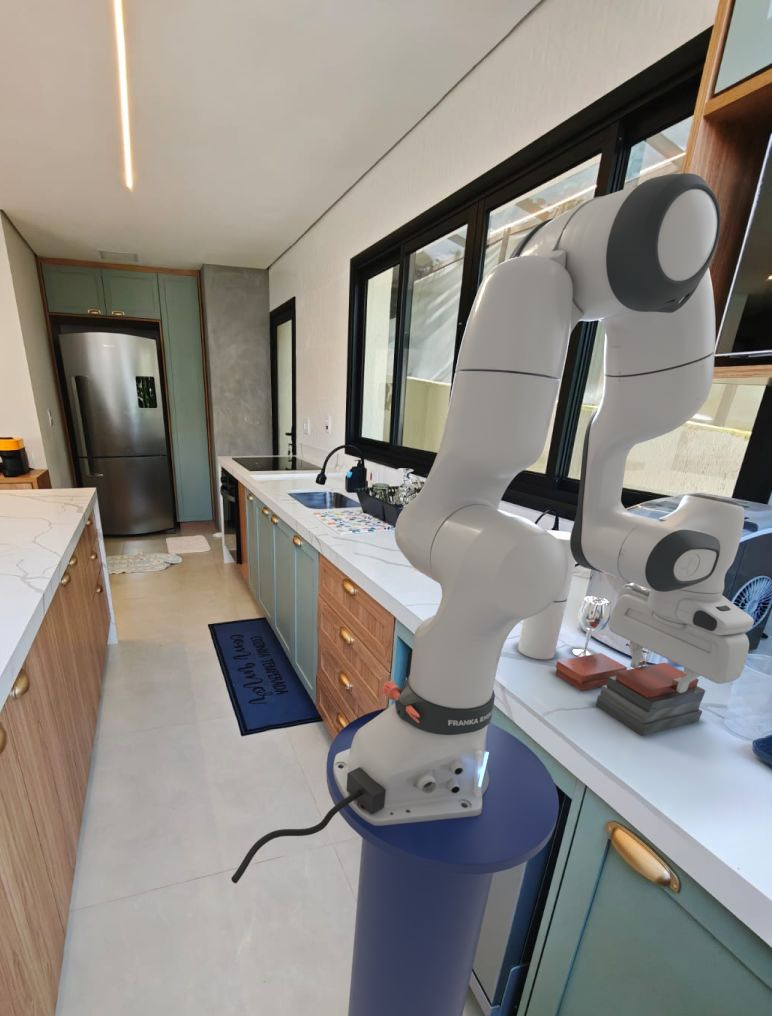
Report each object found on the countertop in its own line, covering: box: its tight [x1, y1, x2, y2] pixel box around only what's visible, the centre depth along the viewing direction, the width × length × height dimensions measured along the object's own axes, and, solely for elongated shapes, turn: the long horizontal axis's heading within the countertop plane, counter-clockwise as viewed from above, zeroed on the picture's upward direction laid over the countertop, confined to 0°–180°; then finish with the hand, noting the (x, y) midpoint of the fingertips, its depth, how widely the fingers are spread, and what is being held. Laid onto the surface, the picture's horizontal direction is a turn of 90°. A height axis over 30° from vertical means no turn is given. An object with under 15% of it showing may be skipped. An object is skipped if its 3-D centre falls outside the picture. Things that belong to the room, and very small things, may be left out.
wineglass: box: [572, 596, 612, 657], centre depth 103 cm, size 6×6×12 cm
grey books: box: [595, 676, 706, 737], centre depth 84 cm, size 13×9×6 cm
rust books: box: [555, 652, 628, 692], centre depth 95 cm, size 11×6×3 cm, turn 110°
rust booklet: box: [616, 662, 700, 698], centre depth 83 cm, size 11×6×2 cm, turn 110°
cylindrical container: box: [517, 529, 577, 660], centre depth 101 cm, size 7×7×25 cm
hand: (657, 678), depth 83 cm, fingers closed on rust booklet, 6 cm apart
